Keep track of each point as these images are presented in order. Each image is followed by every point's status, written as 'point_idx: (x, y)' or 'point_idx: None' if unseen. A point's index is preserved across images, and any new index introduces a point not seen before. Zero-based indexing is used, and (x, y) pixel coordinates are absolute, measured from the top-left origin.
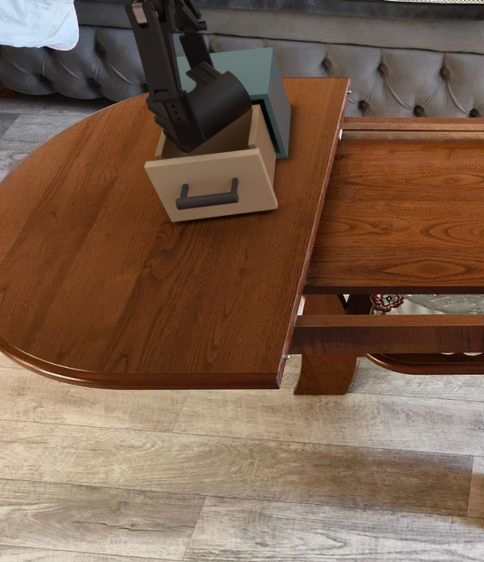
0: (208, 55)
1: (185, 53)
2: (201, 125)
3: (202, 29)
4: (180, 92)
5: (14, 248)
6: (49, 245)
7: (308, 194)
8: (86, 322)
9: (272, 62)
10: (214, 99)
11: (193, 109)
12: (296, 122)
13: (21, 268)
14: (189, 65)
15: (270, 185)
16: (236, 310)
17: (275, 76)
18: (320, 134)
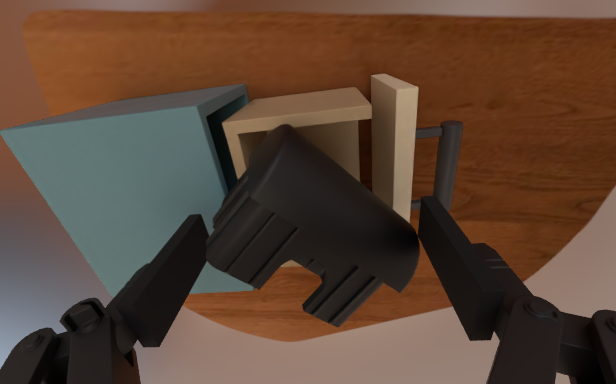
0: (166, 258)
1: (181, 305)
2: (390, 213)
3: (98, 310)
4: (552, 310)
5: (381, 319)
6: (384, 299)
7: (340, 28)
8: (508, 248)
9: (58, 122)
10: (346, 206)
11: (453, 244)
12: (149, 85)
13: (410, 309)
14: (195, 281)
15: (387, 78)
16: (569, 98)
17: (93, 113)
18: (174, 32)
